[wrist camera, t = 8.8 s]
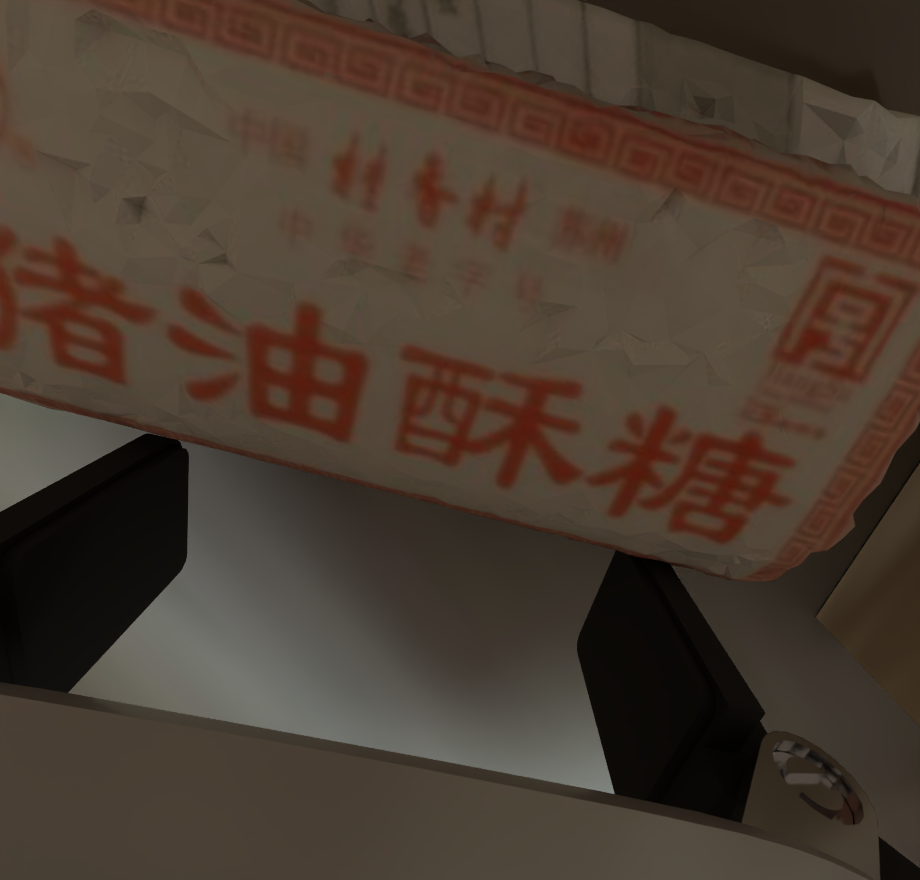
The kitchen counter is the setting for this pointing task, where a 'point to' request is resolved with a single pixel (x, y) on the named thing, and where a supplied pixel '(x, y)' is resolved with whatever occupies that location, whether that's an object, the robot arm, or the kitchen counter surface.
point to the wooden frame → (885, 602)
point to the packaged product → (468, 260)
